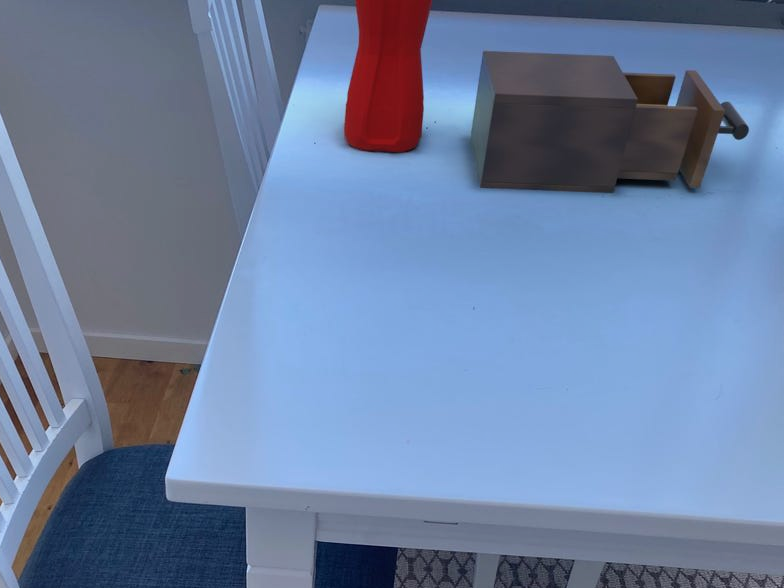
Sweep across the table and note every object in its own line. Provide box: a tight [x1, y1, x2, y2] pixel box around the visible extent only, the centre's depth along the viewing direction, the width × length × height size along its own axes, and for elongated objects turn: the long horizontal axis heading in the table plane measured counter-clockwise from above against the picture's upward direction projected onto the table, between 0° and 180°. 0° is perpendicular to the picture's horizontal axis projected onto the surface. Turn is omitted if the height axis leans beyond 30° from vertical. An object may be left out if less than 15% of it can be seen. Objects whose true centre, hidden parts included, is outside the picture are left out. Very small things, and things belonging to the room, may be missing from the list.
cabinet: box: [469, 50, 638, 194], centre depth 105 cm, size 15×14×10 cm
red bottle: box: [343, 0, 434, 154], centre depth 105 cm, size 9×11×25 cm
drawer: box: [617, 69, 750, 189], centre depth 105 cm, size 18×13×8 cm
